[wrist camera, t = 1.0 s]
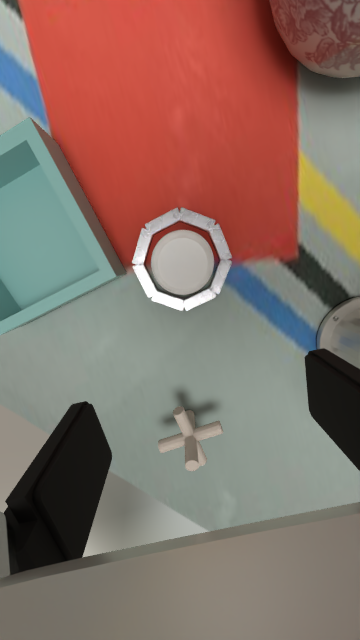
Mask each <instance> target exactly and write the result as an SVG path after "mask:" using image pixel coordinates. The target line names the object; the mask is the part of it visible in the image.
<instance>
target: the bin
mask: <svg viewBox="0 0 360 640" xmlns="http://www.w3.org/2000/svg"><path fill="white" fill-rule="evenodd" d="M125 274H127V273H126V271H125V269H124V267H123V265H122V263H121V262H120V260H119V258H118V256H117V254H116V252H115V250H114V248H113V247H112V245H111V243H110V241H109V239H108V237H107V235H106V233H105V231H104V230H103V228H102V226H101V224H100V222H99V220H98V218H97V216H96V214H95V213H94V211H93V209H92V207H91V205H90V203H89V201H88V199H87V198H86V196H85V194H84V192H83V190H82V188H81V186H80V184H79V182H78V181H77V179H76V177H75V175H74V173H73V171H72V169H71V167H70V166H69V164H68V162H67V160H66V158H65V156H64V154H63V152H62V150H61V149H60V147H59V145H58V143H57V142H56V141H55V140H53V139H52V138H51V137H50V136H49V135H48V134H47V133H46V132H45V131H44V130H43V129H42V128H41V127H40V126H39V125H38V124H37V123H36V122H34V121H33V120H32V119H31V118H30V117H29V118H27V119H25V120H24V121H22V122H21V123H19V124H18V125H16V126H14V127H13V128H11V129H10V130H8V131H7V132H5V133H3V134H2V135H0V335H2V334H4V333H7V332H9V331H11V330H14V329H16V328H18V327H21V326H23V325H26V324H28V323H30V322H32V321H34V320H36V319H38V318H40V317H42V316H44V315H46V314H48V313H50V312H52V311H54V310H56V309H57V308H59V307H61V306H63V305H65V304H67V303H69V302H71V301H73V300H75V299H77V298H79V297H81V296H83V295H85V294H87V293H89V292H91V291H93V290H95V289H97V288H99V287H101V286H103V285H105V284H107V283H109V282H111V281H113V280H115V279H117V278H119V277H121V276H123V275H125Z"/></svg>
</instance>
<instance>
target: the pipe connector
mask: <svg viewBox="0 0 360 640" xmlns="http://www.w3.org/2000/svg"><path fill="white" fill-rule="evenodd" d="M173 415H174V417H175V419H176V421H177V423H178V425H179V427H180V429H181V432H182V433H180V434H177V435H174V436H170V437H167V438H164V439H161V440H159V441H158V447H159V450H160V452H161V453H163V452H166V451H169V450H172V449H175V448H178V447H182V446H185V467H186V469H187V470H189V471H195V470H197V469H198V467H199V466H202V465H204V464H205V463H206V462H207V458H206V456H205V453H204V451H203V449H202V447H201V445H200V442H199V441H200V440H203V439H206V438H209V437H212V436H216V435H219V434H222V433H223V430H222V427H221V424H220V421H216V422H213V423H210V424H207V425H204V426H201V427H198V428H196V427H195V416H194V412H193V411H191V410H187V411H186V412H185V410H184V408H183V407H182V406H180V407H177V408H175V409H174V410H173Z"/></svg>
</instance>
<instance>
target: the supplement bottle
mask: <svg viewBox="0 0 360 640" xmlns="http://www.w3.org/2000/svg"><path fill="white" fill-rule="evenodd" d="M151 267H152V272H153V275H154V277H155V279H156V281H157V282H158V283H159V284H160V286H161V287H163V288H164V289H165V290H167V291H169V292H171V293H174V294H179V295H187V294H191V293H194V292H196V291H198V290H200V289H201V288H202V287H203V286H204V285H205V284H206V283H207V282H208V281H209V279H210V277H211V275H212V272H213V268H214V256H213V252H212V249H211V247H210V245H209V244H208V242H207V241H206V240H205V239H204V238H203V237H202V236H201V235H199V234H197V233H195V232H193V231H189V230H176V231H173V232H170V233H168V234H166V235H165V236H164V237H162V238H161V239H160V240H159V242H158V243H157V244H156V246H155V248H154V250H153V253H152V258H151Z"/></svg>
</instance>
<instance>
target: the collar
mask: <svg viewBox="0 0 360 640" xmlns="http://www.w3.org/2000/svg"><path fill="white" fill-rule="evenodd" d="M215 221H216V220H213V219H211V218H208V217H206V216H203V215H200V214H198V213H195V212H193V211H190V210H188V209H185V208H182V207H181V210H180V213H179V210H178V208H175V209H173V210H171V211H169V212H167V213H166V214H164V215H162V216H160V217H158V218H156V219H154V220H152V221H150V222H148V223H147V224H145V226H146V228H147V229H144V228H142V230H141V233H140V237H139V240H138V244H137V247H136V251H135V254H134V258H133V261H132V263H134V264H136V265H135V266H133V269H134V271H135V273H136V275H137V277H138V279H139V281H140V282H141V284H142V286H143V288H144V290H145V292H146V294H147V296H148V298H149V297H151V296H153V297H152V301H155V302H158V303H161V304H164V305H167V306H169V307H172V308H175V309H178V310H181V311H183V308H184V307H185V309H186V311H187V310H189V309H191V308H193V307H196V306H198V305H200V304H202V303H204V302H206V301H209V300H211V299H213V298H215V297H216V295H215V293H217V294H219V293H220V290H221V288H222V285H223V283H224V281H225V278H226V276H227V273H228V271H229V268H230V266H231V263H232V261H230V260H228V259H230V258H232V256H231V253H230V251H229V248H228V246H227V243H226V241H225V238H224V236H223V233H222V231H221V228H220V226H219V223H218V224H216V225H214V224H215ZM178 222H182V223H185V224H187V225H190V226H193V227H195V228H198V229H200V230H203V231H206V232H208V234H209V236H210V239H211V241H212V244H213V246H214V248H215V251H216V253H217V256H218V258H219V262H218V265H217V267H216V270H215V273H214V275H213V278H212V280H211V283H210V285H209V287H208V288H206V289H204V290H202V291H200V292H197V293H195V294H193V295H191V296H189V297H187V298H185V299H182V298H180V297H177V296H174V295H171V294H168V293H165V292H162V291H160V290H158V289H157V287H156V285H155V284H154V282H153V280H152V278H151V276H150V274H149V272H148V270H147V268H146V266H145V261H146V258H147V255H148V252H149V248H150V245H151V242H152V238H153V235H155V234H157V233H159V232H161V231H163V230H165V229H167V228H169V227H171V226H173V225H175V224H176V223H178Z"/></svg>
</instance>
